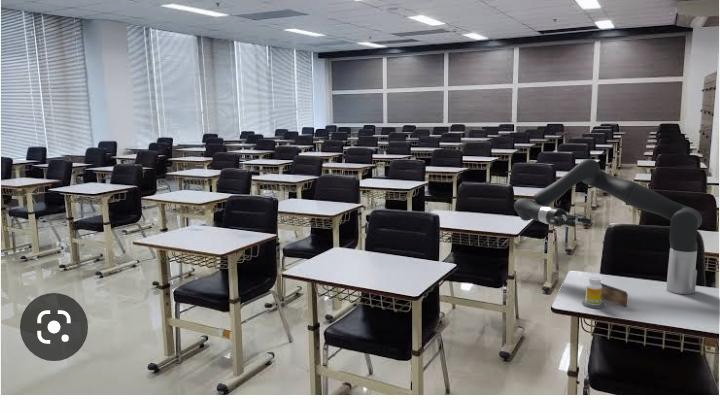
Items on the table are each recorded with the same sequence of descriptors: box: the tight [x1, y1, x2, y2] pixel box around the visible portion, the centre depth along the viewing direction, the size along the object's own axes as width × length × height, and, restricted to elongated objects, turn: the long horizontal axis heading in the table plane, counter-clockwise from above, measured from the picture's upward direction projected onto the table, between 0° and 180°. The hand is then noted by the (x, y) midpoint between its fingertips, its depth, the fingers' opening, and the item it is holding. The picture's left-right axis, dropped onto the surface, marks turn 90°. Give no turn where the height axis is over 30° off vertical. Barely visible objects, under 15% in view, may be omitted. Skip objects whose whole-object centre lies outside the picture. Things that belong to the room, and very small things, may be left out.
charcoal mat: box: [581, 299, 606, 310], centre depth 204 cm, size 8×8×1 cm
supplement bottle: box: [584, 276, 602, 305], centre depth 203 cm, size 5×5×10 cm
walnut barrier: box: [600, 282, 629, 308], centre depth 208 cm, size 14×1×6 cm, turn 26°
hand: (582, 223), depth 214 cm, fingers open, 8 cm apart
